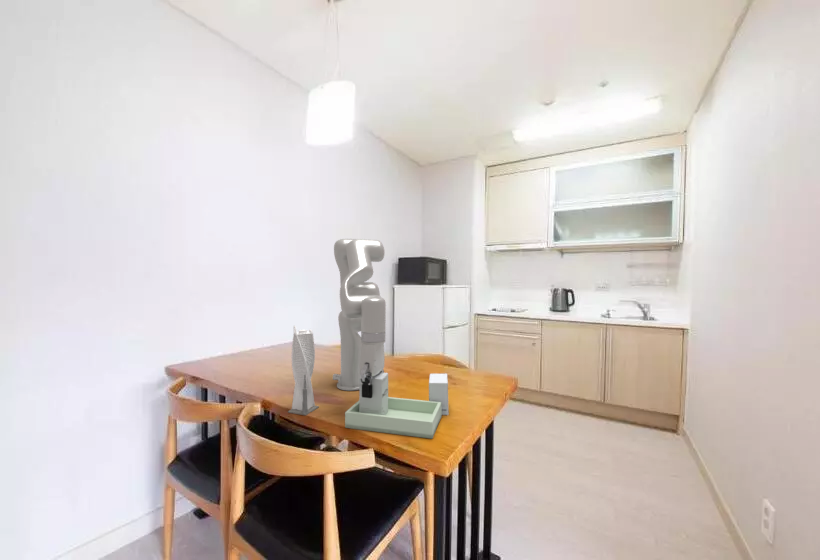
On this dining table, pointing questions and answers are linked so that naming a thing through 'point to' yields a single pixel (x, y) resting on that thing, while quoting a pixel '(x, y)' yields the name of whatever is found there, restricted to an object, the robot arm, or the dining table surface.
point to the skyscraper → (303, 372)
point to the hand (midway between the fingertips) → (373, 391)
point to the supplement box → (375, 396)
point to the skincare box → (439, 390)
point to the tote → (399, 418)
